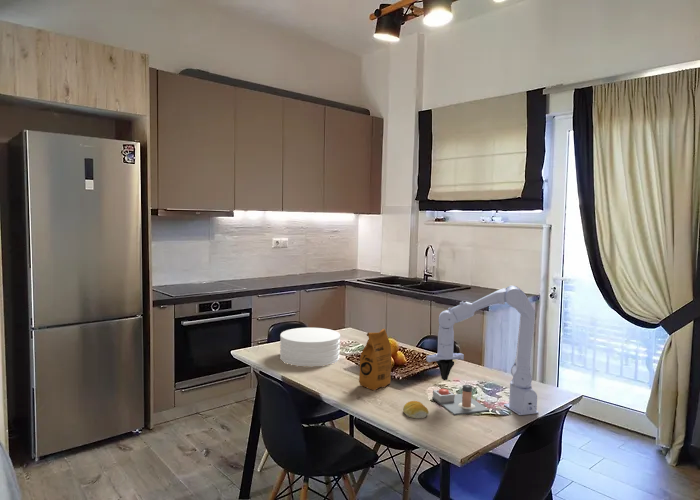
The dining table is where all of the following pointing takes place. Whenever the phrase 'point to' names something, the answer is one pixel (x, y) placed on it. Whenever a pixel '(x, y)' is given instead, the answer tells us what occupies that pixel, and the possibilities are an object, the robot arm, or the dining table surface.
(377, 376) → the coffee package
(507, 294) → the robot arm
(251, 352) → the dining table surface
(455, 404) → the board
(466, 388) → the spice jar
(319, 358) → the plate stack
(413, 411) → the bread roll
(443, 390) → the button
